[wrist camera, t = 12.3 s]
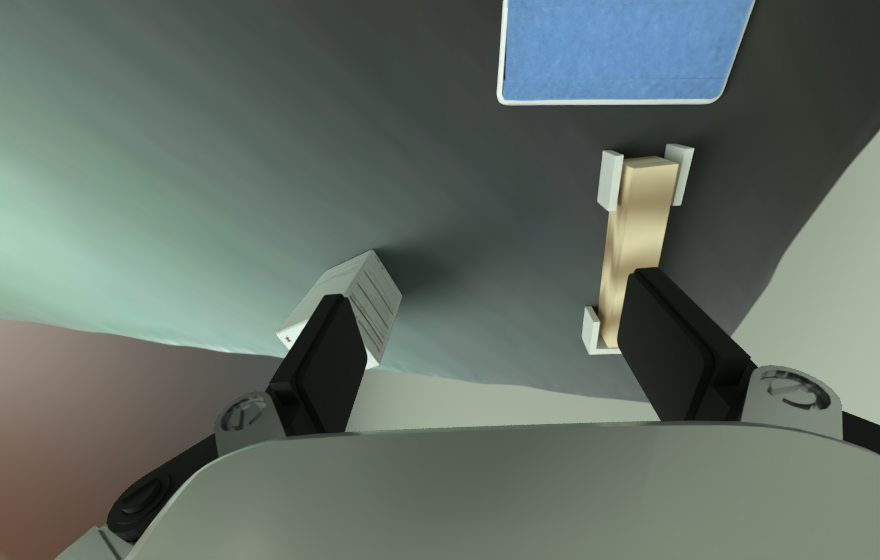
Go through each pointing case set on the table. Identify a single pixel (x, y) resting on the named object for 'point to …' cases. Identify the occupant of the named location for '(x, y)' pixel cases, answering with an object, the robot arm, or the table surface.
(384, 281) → the supplement box
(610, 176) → the end cap
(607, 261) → the slat
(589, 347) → the end cap
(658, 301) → the robot arm
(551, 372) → the table surface
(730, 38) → the tablet computer
